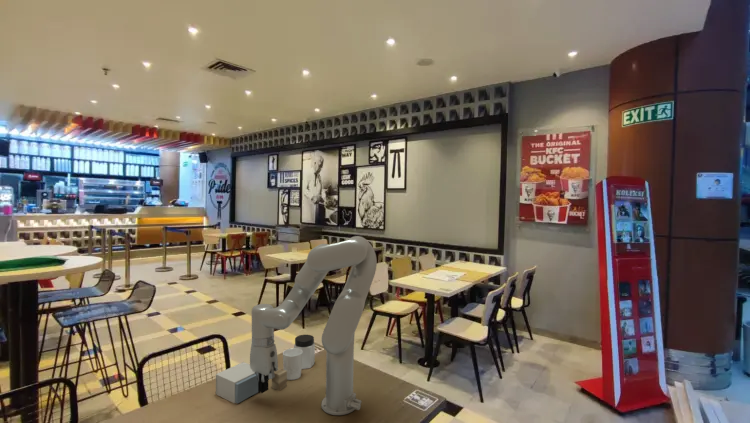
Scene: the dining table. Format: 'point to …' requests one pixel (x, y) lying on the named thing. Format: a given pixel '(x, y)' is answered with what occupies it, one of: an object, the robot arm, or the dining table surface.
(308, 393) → the dining table surface
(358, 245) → the robot arm
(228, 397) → the housing
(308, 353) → the jar
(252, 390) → the blue-grey open box
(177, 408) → the dining table surface
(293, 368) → the white cup
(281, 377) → the beige block
